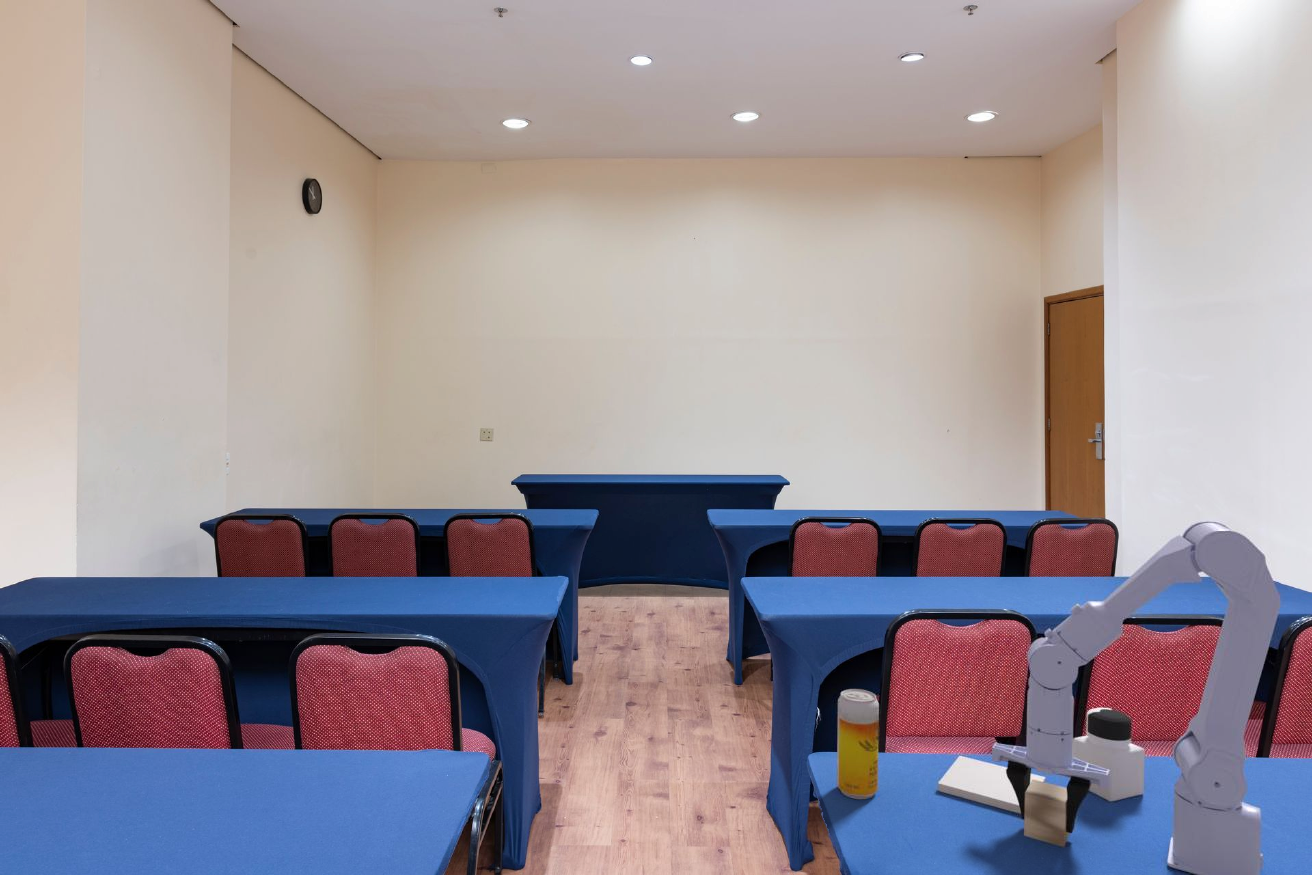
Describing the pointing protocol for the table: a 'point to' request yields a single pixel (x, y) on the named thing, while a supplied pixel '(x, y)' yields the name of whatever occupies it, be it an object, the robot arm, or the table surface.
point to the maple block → (1046, 813)
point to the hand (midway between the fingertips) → (1047, 823)
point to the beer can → (857, 743)
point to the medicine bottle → (1112, 753)
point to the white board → (981, 783)
